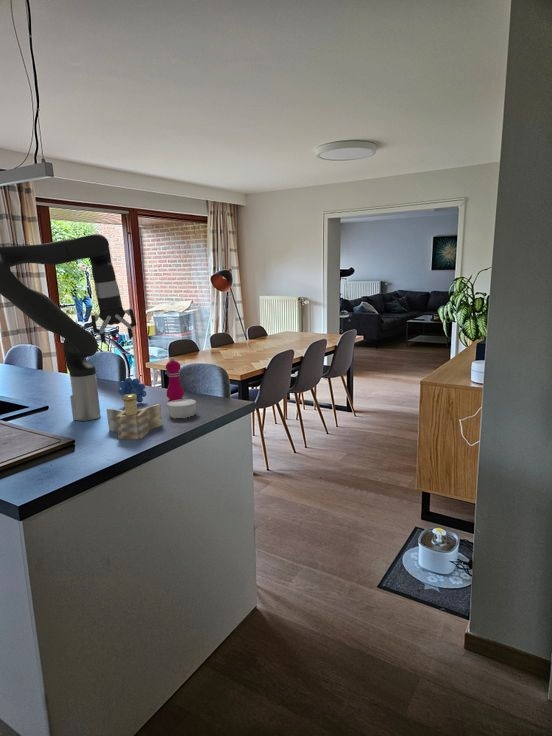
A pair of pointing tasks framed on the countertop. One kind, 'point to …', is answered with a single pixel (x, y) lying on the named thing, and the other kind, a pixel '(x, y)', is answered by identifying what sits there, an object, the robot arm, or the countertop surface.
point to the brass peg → (130, 404)
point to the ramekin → (181, 408)
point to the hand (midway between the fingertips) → (118, 341)
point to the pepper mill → (174, 381)
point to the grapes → (132, 388)
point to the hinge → (134, 422)
